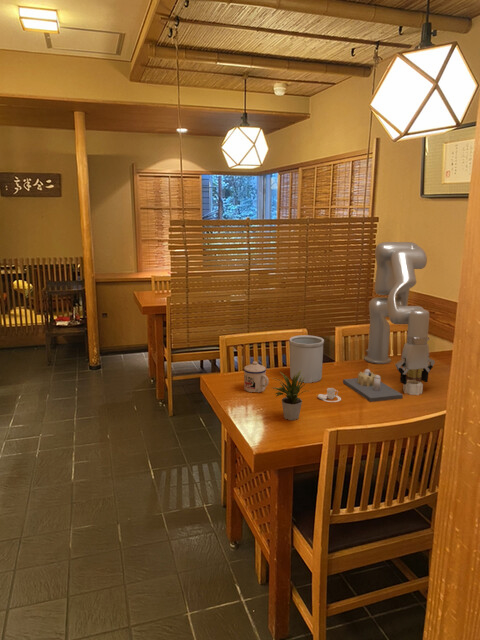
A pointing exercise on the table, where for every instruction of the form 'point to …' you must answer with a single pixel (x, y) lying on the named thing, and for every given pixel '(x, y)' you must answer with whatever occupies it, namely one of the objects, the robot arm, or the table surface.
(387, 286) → the robot arm
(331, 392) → the teacup and saucer
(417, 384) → the gear
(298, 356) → the utensil holder
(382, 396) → the gear board
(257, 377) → the teacup with lid
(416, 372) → the sauce bottle
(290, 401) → the house plant
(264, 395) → the table surface
